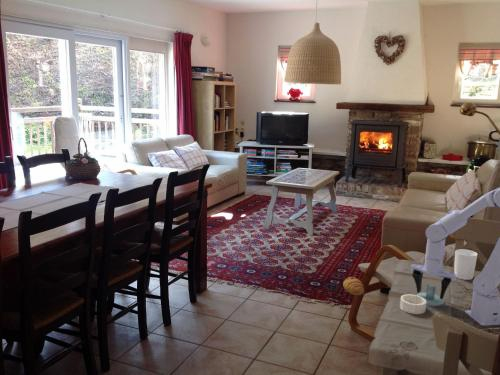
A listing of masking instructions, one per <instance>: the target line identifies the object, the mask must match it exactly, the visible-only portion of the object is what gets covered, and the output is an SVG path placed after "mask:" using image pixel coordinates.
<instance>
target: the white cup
mask: <svg viewBox="0 0 500 375" xmlns="http://www.w3.org/2000/svg"><path fill="white" fill-rule="evenodd" d="M477 259H478V253H477V252H475V251H473V250H471V249H465V248H462V249H461V248H459V249H456V250H455V251H454V267H453V268H454V269H453V270H454V273H453V274H456V278H457V279H459V280H465V281H470V280H471V281H472V279H473V278H474V273H475V270H476V265H477ZM473 280H474V279H473Z"/></svg>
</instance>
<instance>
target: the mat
mask: <svg viewBox="0 0 500 375" xmlns="http://www.w3.org/2000/svg"><path fill="white" fill-rule="evenodd" d="M447 306H448V307H449V306H450V305H449V304H448V303H447V302H446V301H444V304H443V305H441V306H440V307H447ZM430 307H432V308H433V307H434V306H429V305H426V308H430Z"/></svg>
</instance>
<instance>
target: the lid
mask: <svg viewBox="0 0 500 375" xmlns="http://www.w3.org/2000/svg"><path fill="white" fill-rule="evenodd" d="M416 295H418V296H420V297H423V298H424V299H425V300H426V305H429V306H433V307H442V306H441V305H443V304H444V302H445V299H444V298H443V299H440V295H438V294H436V285H434V284H427V285H426V291H425V292H419V293H417V294H416Z"/></svg>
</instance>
